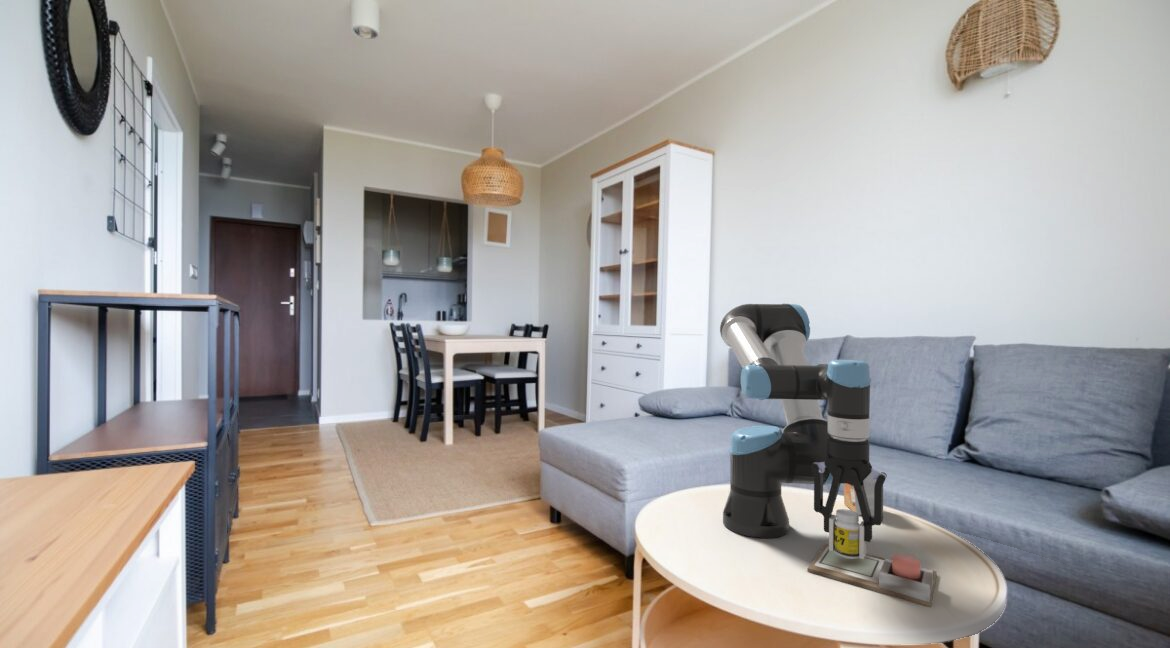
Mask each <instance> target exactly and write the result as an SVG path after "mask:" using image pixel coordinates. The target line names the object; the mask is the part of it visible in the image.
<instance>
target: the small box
mask: <svg viewBox="0 0 1170 648" xmlns="http://www.w3.org/2000/svg"><path fill="white" fill-rule="evenodd" d="M863 482H864V489H865V492H866V496H867V500H868V504H869V508H870V512H871V516H872V517H874V486H875V482H873V481H872V476H871V475H870V474H869V475H868V476H867V477H866V478H865V480H864V481H863ZM843 486H844V487H843V488H844V489H843V490H844V491H843V492H844V493H843V504H844V505H846V506H847V507H848V509H849V510H852V511H855V512H857V513H858V515H859V516H862V515H861V511H860V507H859V503H858V499H857V495H856V492H855V490H854V486H853V485H850V484H847V483H844V484H843Z"/></svg>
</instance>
